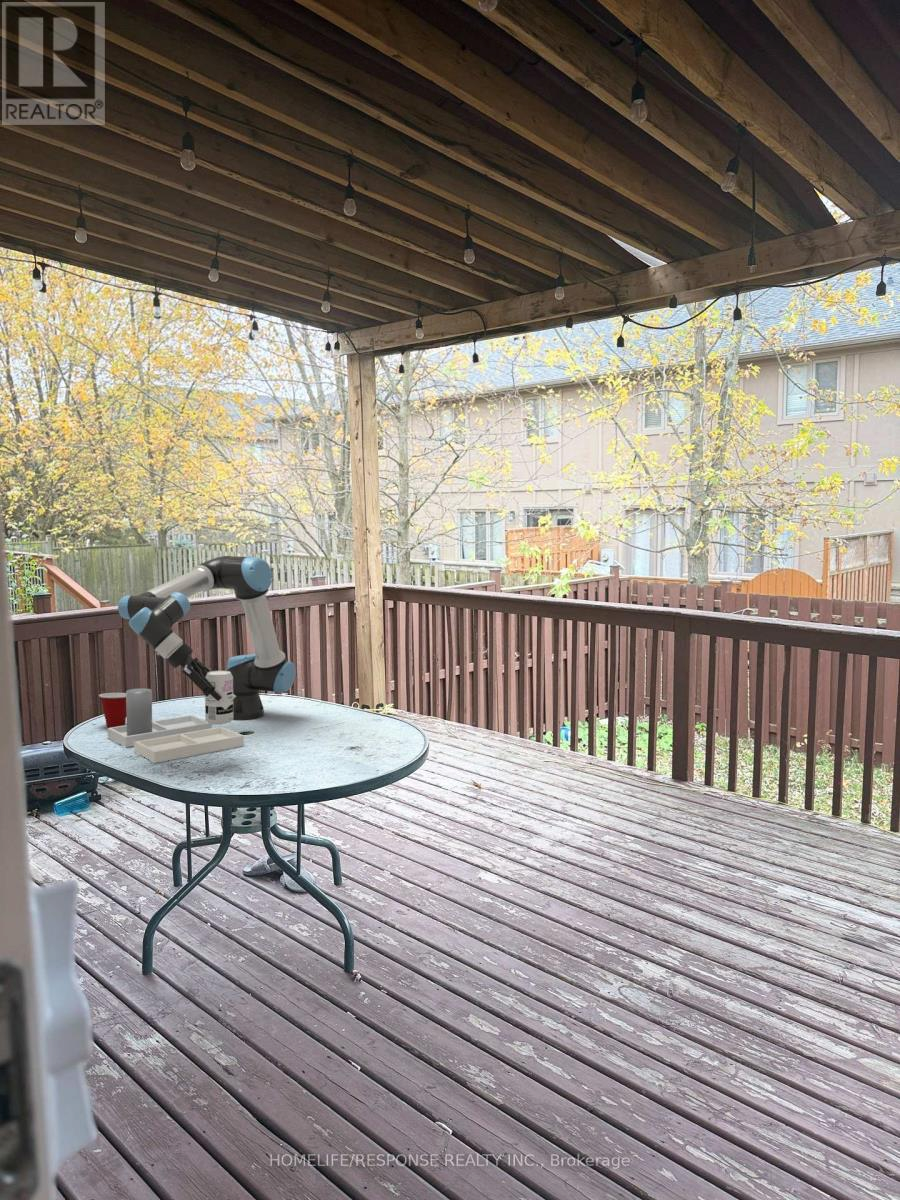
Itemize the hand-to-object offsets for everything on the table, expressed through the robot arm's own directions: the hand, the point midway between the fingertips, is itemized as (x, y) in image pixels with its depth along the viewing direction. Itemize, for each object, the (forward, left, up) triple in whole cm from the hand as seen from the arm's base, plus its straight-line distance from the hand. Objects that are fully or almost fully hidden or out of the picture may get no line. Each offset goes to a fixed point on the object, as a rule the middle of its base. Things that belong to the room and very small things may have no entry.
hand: (230, 702), depth 242 cm
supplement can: (+3, -2, -6) cm, 7 cm away
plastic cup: (+10, -65, -19) cm, 68 cm away
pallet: (+3, -22, -19) cm, 29 cm away
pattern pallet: (+3, -44, -19) cm, 48 cm away
